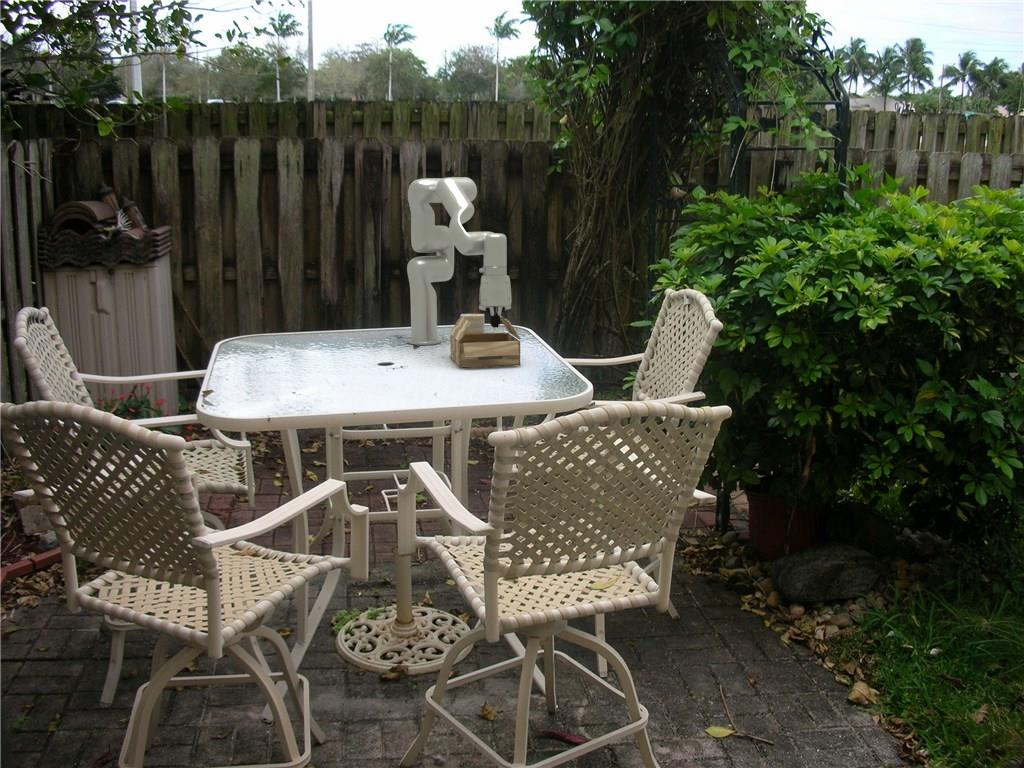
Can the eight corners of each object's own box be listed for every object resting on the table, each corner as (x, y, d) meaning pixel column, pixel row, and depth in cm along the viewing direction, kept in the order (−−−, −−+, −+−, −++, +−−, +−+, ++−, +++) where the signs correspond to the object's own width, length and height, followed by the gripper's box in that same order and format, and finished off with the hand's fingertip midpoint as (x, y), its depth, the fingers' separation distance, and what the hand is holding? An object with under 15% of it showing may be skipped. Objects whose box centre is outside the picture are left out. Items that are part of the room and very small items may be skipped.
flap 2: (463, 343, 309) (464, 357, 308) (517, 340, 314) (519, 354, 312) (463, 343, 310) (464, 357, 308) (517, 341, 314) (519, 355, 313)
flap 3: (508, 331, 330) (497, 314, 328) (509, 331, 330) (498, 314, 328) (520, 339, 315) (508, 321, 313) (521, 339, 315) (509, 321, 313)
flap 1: (449, 333, 325) (460, 315, 325) (450, 334, 325) (461, 315, 325) (458, 341, 310) (470, 322, 310) (459, 342, 310) (471, 323, 310)
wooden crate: (450, 358, 328) (450, 335, 326) (507, 355, 332) (508, 333, 331) (460, 368, 311) (459, 343, 310) (520, 365, 316) (520, 341, 314)
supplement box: (485, 350, 343) (485, 313, 340) (483, 352, 338) (483, 315, 335) (462, 349, 344) (461, 313, 341) (460, 352, 339) (459, 315, 336)
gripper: (474, 273, 311) (475, 329, 315) (519, 272, 314) (519, 328, 318) (470, 271, 318) (470, 326, 322) (514, 270, 322) (514, 324, 325)
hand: (495, 326), depth 320 cm, fingers closed
